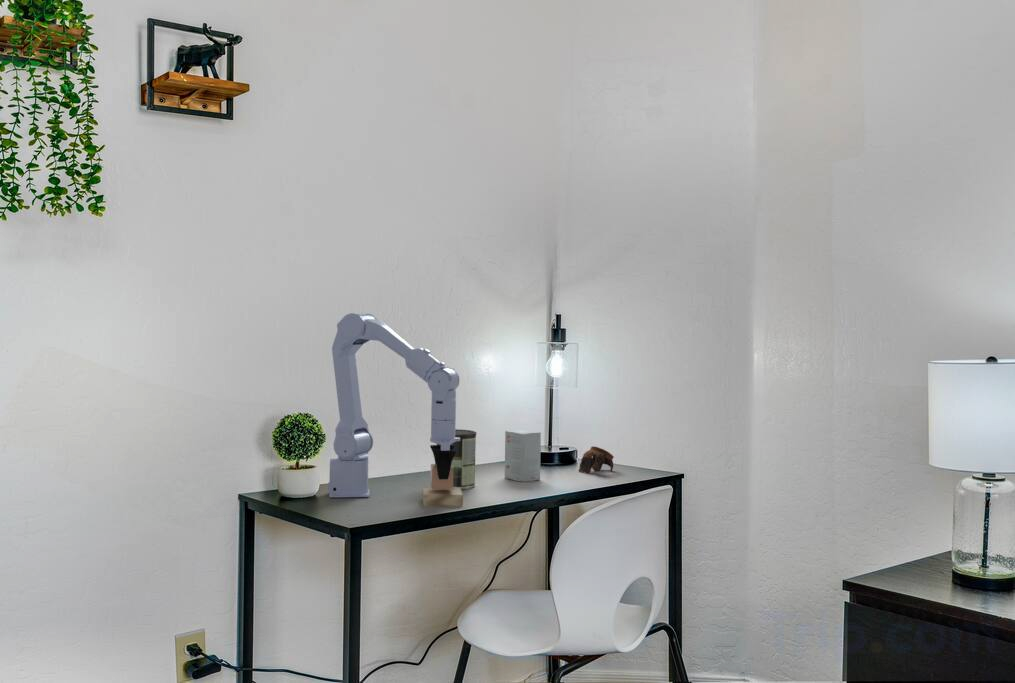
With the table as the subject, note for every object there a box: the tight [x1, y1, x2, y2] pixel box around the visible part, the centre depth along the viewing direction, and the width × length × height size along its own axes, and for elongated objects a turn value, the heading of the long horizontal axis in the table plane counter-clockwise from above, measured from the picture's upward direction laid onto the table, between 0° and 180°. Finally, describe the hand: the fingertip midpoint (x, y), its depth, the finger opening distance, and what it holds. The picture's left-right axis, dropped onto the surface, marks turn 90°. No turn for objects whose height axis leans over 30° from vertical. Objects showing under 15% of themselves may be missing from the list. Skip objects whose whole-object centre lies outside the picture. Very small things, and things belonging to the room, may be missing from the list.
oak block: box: [421, 487, 464, 507], centre depth 204 cm, size 9×9×3 cm
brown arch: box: [578, 445, 615, 474], centre depth 250 cm, size 12×10×8 cm
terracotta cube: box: [429, 463, 454, 489], centre depth 204 cm, size 5×5×5 cm
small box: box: [504, 429, 542, 483], centre depth 236 cm, size 8×6×13 cm
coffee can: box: [451, 428, 477, 490], centre depth 225 cm, size 10×10×14 cm
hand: (442, 477), depth 204 cm, fingers closed on terracotta cube, 5 cm apart
